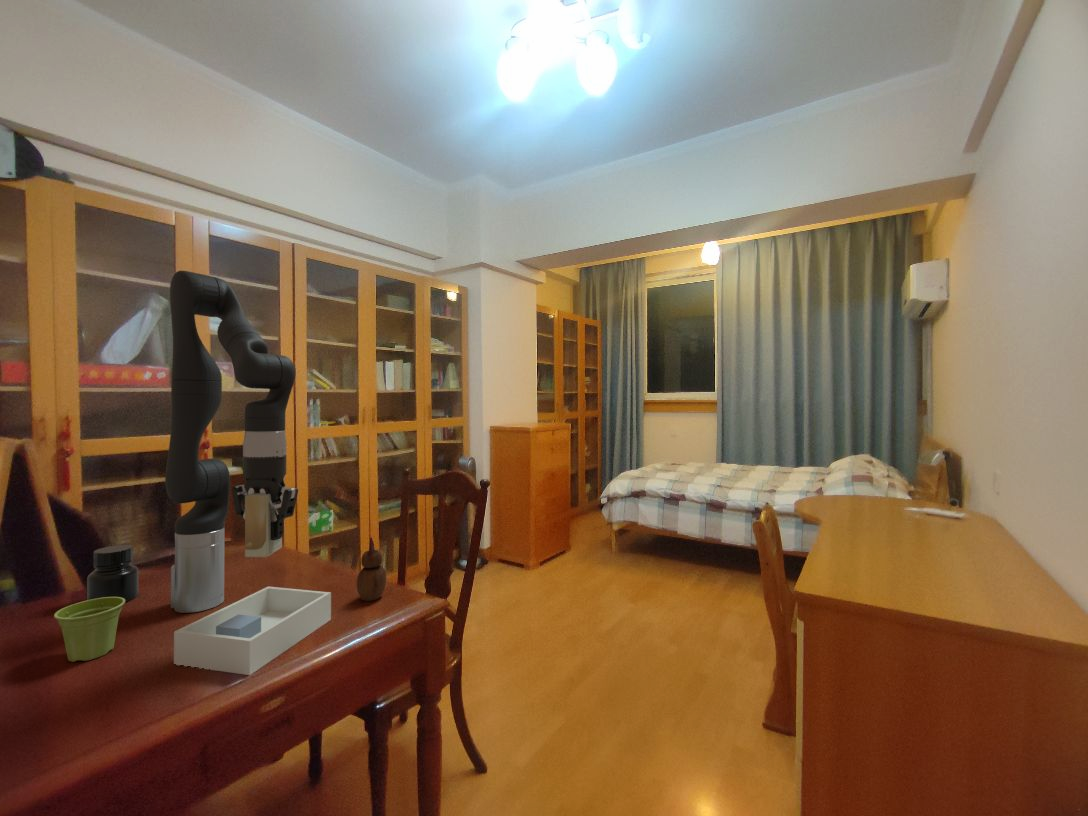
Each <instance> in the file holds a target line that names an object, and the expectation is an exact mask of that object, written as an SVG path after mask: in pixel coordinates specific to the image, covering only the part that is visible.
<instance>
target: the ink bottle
mask: <svg viewBox="0 0 1088 816" xmlns="http://www.w3.org/2000/svg"><path fill="white" fill-rule="evenodd" d="M133 551H134V547H133V545H131V544H119V545H118V544H117V545H112V546H105V547H101V548H97V549H95V550H94V551H93V568H94V570H93V571H92V572H90V573H89V574H88V576H87V579H86V600H91V599H97V598H103V597H121V598H124V599H125V603H126V602H129V601H131V600H133V599H135V598H136V597H138V596H139V568H138V567H137V566H136V565H134V564H133V559H134V557H133V555H134V554H133V553H134V552H133Z"/></svg>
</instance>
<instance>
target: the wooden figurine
mask: <svg viewBox="0 0 1088 816" xmlns="http://www.w3.org/2000/svg"><path fill="white" fill-rule="evenodd" d="M368 549H369V550H367V551H364V552H363V554H362V555H361V560H360V561H361V563H360V564H361V566H362V567H363V568H362V569H360V572H359V573H358V575H357V578H356V590H357V593H358V595H359V597H360V599H361V600H362V601H366V602H373V601H376V600H378V599H380V597H382V596H383V594H384V591H385V588H386V584H387V573H386V569H385V568H384V566H383V565H381V564H382V563H383V553H382V552H381V551H380V550H377V549H375V543H374V541H373V537H369V547H368Z"/></svg>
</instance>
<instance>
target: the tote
mask: <svg viewBox="0 0 1088 816" xmlns="http://www.w3.org/2000/svg"><path fill="white" fill-rule="evenodd" d="M237 615H248V616H258V617H261V632H260V633H258V634H256V635H255V636H253V637H251V638H243V637H235V636H226V635H218V634H216V626H217V625H219V624H221V623H223V622H225V621H227V620H229V619H231V618H233V617H235V616H237ZM331 620H332V591H331V592H329V591H319V590H309V589H308V590H307V589H298V588H288V587H287V588H286V587H277V586H266V587H264V588H262V589H260V590H258V591H256V592H254V593H252V594H250V595H248V596H245V597H243V598H241V599H240V600H237V601H236V602H233V603H231V604H229V605H227V606H225V607H223V608H221V609H219V610H216V611H214V612H212V613H210V614H207V615H206V616H204V617H202V618H200V619H198V620H196V621H194V622H191V623H190V624H187V625H185V626H183V627H181V628H179V629H177V630H175V631H173V665H174V664H176V665H175V666H180V665H184V666H183V667H187V666H191V667H190V668H194V667H199V668H198V669H202V668H204V669H203V670H209V669H210V671H218V672H224V673H232V674H239V675H244V676H251V675H252V674H254V673H255V672H256V671H258V670H259V669H261V668H262V667H264V666H265V665H267V664H268V663H270V662H271V661H273V660H274V659H275V658H277V657H279V656H280V655H281V654H283V653H284V652H285V651H287V650H289V649H290V648H291V647H293V646H295V645H296V644H298V643H299V642H300V641H302V640H303V639H305V638H306V637H308V636H309V635H310V634H312V633H314V632H315V631H316V630H318V629H319V628H321V627H322V626H324V625H325V624H326V623H328V622H330V621H331Z"/></svg>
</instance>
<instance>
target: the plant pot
mask: <svg viewBox="0 0 1088 816" xmlns="http://www.w3.org/2000/svg"><path fill="white" fill-rule="evenodd" d="M125 603H126V602H125V599H124V598H121V597H103V598H97V599H91V600H87V599H86V600H83V601H80V602H76V603H73V604H70V605H67V606H65V607H63V608H60V609H59V610H57V611H56V612H55V613H54V614H53V615H54V616H53V617H54V619H55V620H57V622H58V625H59V626H60V628H61V632H62V636H63V642H64V646H65V651H66V655H67V660H68V661H69V662H73V663H75V662H77V661H83V662H87V661H91V660H94V659H97V658H100V657H103V656H104V655H107V654H108V653H109V652H110V651H113V650H114V648H115V643H116V642H115V641H116V634H117V629H118V624H119V618H120V613H121V611H122V609H123V606H124V605H125Z"/></svg>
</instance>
